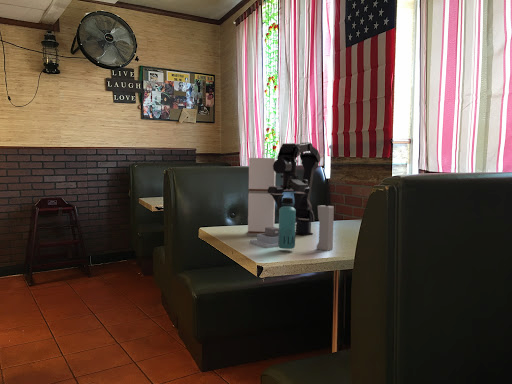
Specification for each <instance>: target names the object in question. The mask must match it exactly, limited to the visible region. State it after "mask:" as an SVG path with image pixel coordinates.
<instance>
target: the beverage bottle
mask: <svg viewBox="0 0 512 384" xmlns="http://www.w3.org/2000/svg"><path fill="white" fill-rule="evenodd" d="M283 204H285V205H286V206H282V207H281V208H280V209H278V214H279V215H278V228H279V233H278V234H279V240H278V248H279V249H284V250H292V249H294V248H295V246H296V234H295V233H296V224H297V221H295V220H296V216H295V214H296V210H295V208H294V206H289V205H293V204H294V197H282V205H283ZM287 205H288V206H287Z"/></svg>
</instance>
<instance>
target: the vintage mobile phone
mask: <svg viewBox="0 0 512 384" xmlns="http://www.w3.org/2000/svg"><path fill="white" fill-rule="evenodd" d="M334 213H335V207H334V205H329V184H326V199H325V204H324V205H317V219H318V223H319V224H318V225H319V227H318V242H317V244H316V249H317V250H320V251H327V252H328V251H332V250H333V249H334V245H333V244H334V220H335V219H334Z"/></svg>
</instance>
